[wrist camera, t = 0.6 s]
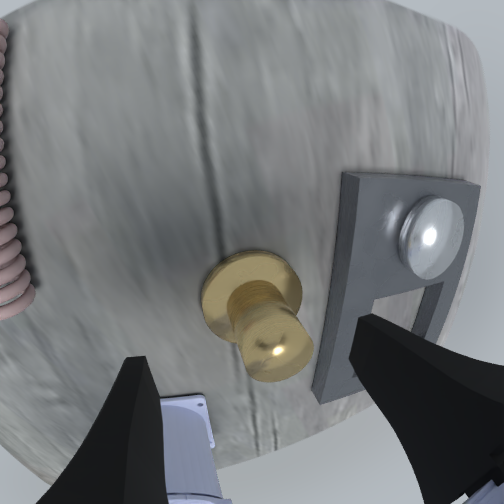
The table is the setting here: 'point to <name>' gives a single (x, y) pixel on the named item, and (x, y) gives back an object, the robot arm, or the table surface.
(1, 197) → the coil
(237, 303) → the gold flanged round piece
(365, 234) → the carrier plate
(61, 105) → the table surface
